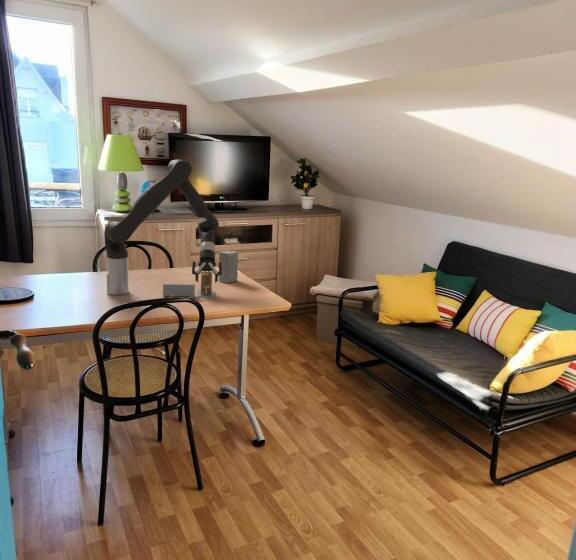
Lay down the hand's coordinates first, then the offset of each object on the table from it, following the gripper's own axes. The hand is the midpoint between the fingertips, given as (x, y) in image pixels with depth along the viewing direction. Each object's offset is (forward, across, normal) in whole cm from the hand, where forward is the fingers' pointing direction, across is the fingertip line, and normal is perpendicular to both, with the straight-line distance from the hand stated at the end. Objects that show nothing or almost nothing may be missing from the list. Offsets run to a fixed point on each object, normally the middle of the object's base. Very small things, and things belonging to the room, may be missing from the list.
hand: (206, 281), depth 248 cm
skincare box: (-13, +11, +23) cm, 29 cm away
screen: (+7, -13, +3) cm, 15 cm away
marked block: (+4, 0, +5) cm, 6 cm away
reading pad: (+4, 0, +6) cm, 7 cm away
